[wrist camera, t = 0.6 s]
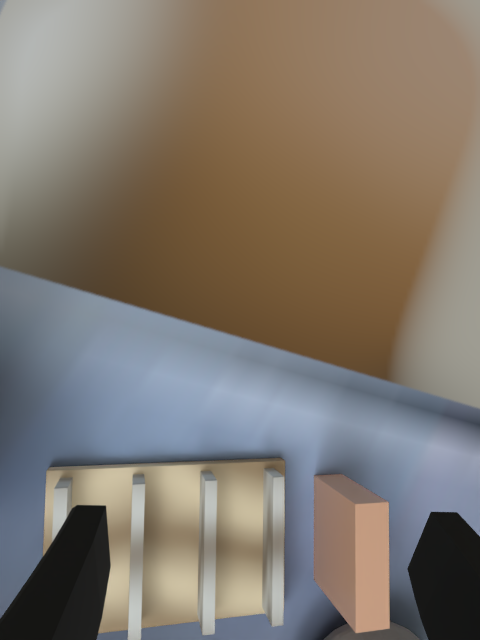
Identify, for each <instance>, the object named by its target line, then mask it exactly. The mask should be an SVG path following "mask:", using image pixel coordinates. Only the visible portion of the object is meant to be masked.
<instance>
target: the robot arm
mask: <svg viewBox="0 0 480 640" xmlns="http://www.w3.org/2000/svg"><path fill="white" fill-rule="evenodd" d="M110 568H111V562H110V549H109V537H108V524H107V511H106V505H76V506H75V507H73V508H72V509H71V511H70V513H69V515H68V516H67V518H66V520H65V522H64V523H63V525H62V527H61V529H60V530H59V532H58V534H57V535H56V537H55V539H54V540H53V542H52V543H51V545H50V547H49V548H48V550H47V551H46V553H45V554H44V556H43V557H42V559H41V561H40V562H39V564H38V565H37V567H36V568H35V570H34V571H33V573H32V574H31V576H30V577H29V579H28V580H27V582H26V583H25V584H24V586H23V587H22V589H21V590H20V592H19V593H18V595H17V596H16V597H15V599H14V600H13V602H12V603H11V605H10V606H9V608H8V609H7V610H6V612H5V613H4V615H3V616H2V617H1V619H0V640H96V639H97V635H98V631H99V628H100V624H101V620H102V615H103V609H104V603H105V598H106V592H107V586H108V580H109V574H110ZM408 572H409V576H410V580H411V584H412V588H413V592H414V596H415V600H416V603H417V607H418V610H419V614H420V617H421V620H422V623H423V626H424V629H425V631H426V634H427V637H428V639H429V640H480V537H479V535H478V534H477V533H476V532H475V531H474V530H473V529H472V528H471V527H470V526H469V525H468V524H467V523H466V521H465V520H464V519H463V518H462V517H461V516H460V515H459V514H458V513H457V512H431V513H430V516H429V518H428V520H427V523H426V525H425V528H424V530H423V533H422V535H421V537H420V540H419V542H418V545H417V547H416V549H415V552H414V554H413V557H412V559H411V562H410V564H409V566H408Z"/></svg>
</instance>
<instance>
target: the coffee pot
mask: <svg viewBox="0 0 480 640" xmlns="http://www.w3.org/2000/svg"><path fill="white" fill-rule="evenodd" d="M323 640H420V639H419V638H418V637H417V636H415V635H414V634H413V633H412V632H411V631H410V630H409V629H407V628H405V627H403V626H400V625H398V624H396V623H393V622H391V621H390V629H383V630H376V631H368V632H361V633H355V632H354V630H353V629H352V628H351V627H350V625H349V624H348V623H347V624H345V625H343V626H341V627H339V628H337V629H335V630H334V631H332V632H331V633H330V634H329V635H328V636H327V637H326V638H325V639H323Z"/></svg>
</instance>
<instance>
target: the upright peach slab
mask: <svg viewBox="0 0 480 640" xmlns="http://www.w3.org/2000/svg"><path fill="white" fill-rule="evenodd" d="M314 580H315V582H316V583H317V584H318V586H319V587H320V588H321V589H322V591H323V592H324V593H325V595H326V596H327V597H328V598H329V600H330V601H331V602H332V604H333V605H334V606H335V607H336V609H337V610H338V611H339V612H340V614H341V615H342V616H343V618H344V619H345V620H346V621H347V623H348V624H349V625H350V627H351V628H352V629H353V630H354V632H355V633H361V632H368V631H376V630H383V629H390V607H389V502H388V501H386V500H384V499H383V498H381V497H379V496H378V495H376V494H374V493H373V492H371V491H369V490H368V489H366V488H364V487H363V486H361V485H359V484H358V483H356V482H354V481H353V480H351V479H349V478H348V477H346V476H344V475H343V474H332V475H314Z"/></svg>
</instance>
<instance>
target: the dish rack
mask: <svg viewBox="0 0 480 640" xmlns="http://www.w3.org/2000/svg"><path fill="white" fill-rule="evenodd" d="M76 505H106V511H107V524H108V537H109V549H110V562H111V568H110V574H109V580H108V586H107V592H106V598H105V603H104V609H103V615H102V620H101V624H100V628H99V631H98V633H105V632H113V631H122V630H128V640H141V628H147V627H155V626H163V625H172V624H180V623H188V622H196V621H199V623H200V627H201V631H202V635H210V634H214V631H215V619H221V618H230V617H238V616H246V615H254V614H263V613H266V615H267V617H268V619H269V621H270V623H271V625H272V627H273V626H280V625H283V611H284V535H285V460H283V459H282V458H263V459H238V460H214V461H189V462H165V463H140V464H116V465H91V466H67V467H49V468H48V470H47V471H46V495H45V519H44V542H43V556H44V554H45V553H46V551H47V550H48V548H49V547H50V545H51V543H52V542H53V540H54V539H55V537H56V535H57V534H58V532H59V530H60V529H61V527H62V525H63V523H64V522H65V520H66V518H67V516H68V515H69V513H70V511H71V509H72V508H73V507H75V506H76Z"/></svg>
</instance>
